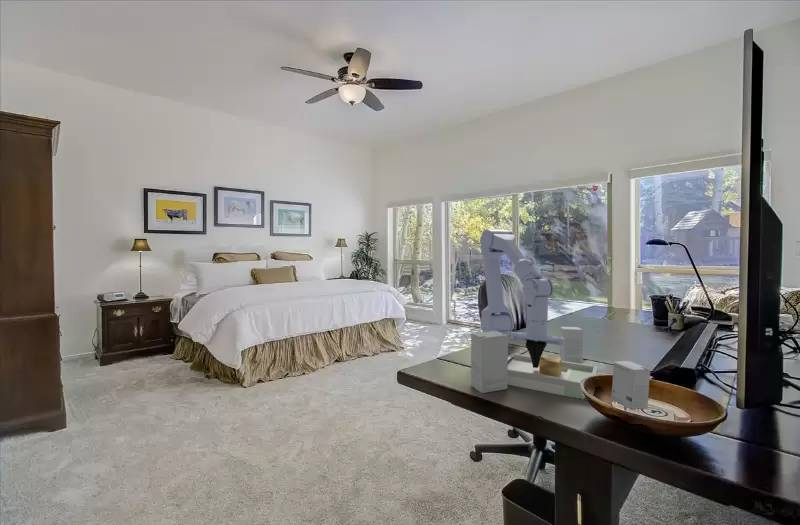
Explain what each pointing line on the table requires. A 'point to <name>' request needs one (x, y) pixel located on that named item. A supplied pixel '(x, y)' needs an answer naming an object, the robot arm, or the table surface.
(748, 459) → the table surface
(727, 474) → the table surface
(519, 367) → the trap box
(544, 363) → the ochre block
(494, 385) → the skincare box
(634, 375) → the skincare box
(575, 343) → the skincare box
